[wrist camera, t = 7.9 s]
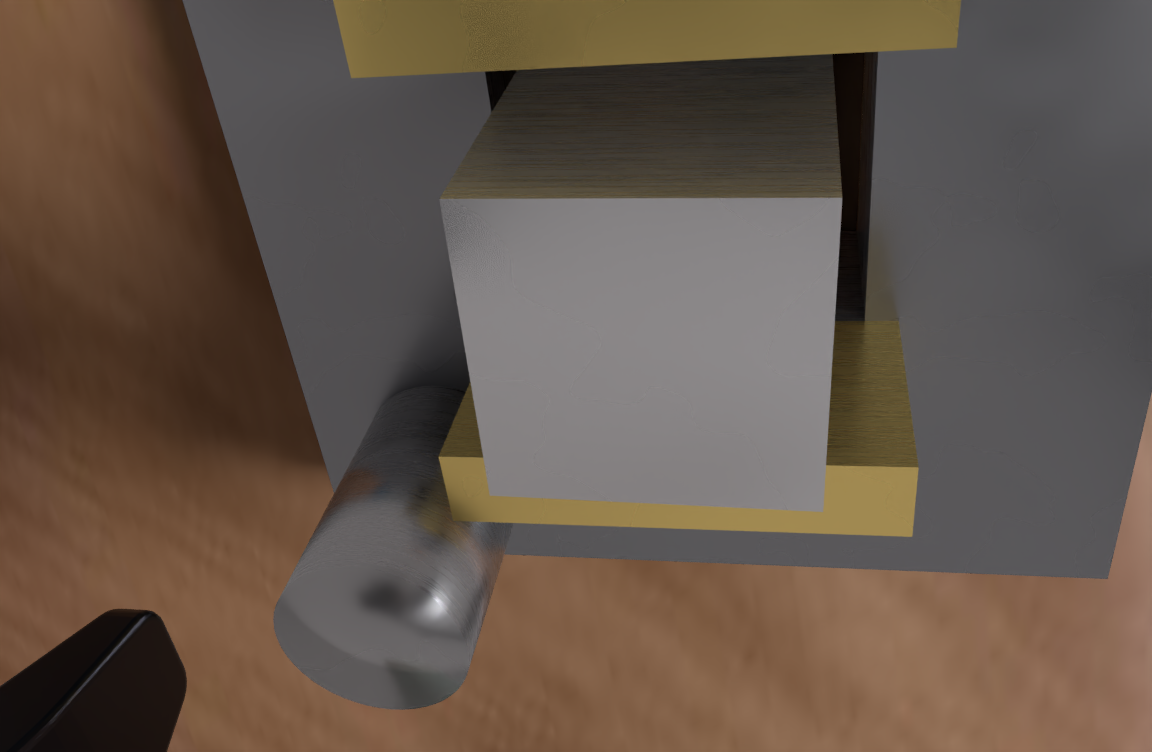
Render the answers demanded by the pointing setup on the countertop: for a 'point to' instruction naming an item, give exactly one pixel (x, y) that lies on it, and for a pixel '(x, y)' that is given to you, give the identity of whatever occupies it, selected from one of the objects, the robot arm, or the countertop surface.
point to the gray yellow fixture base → (862, 317)
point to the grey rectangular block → (653, 281)
